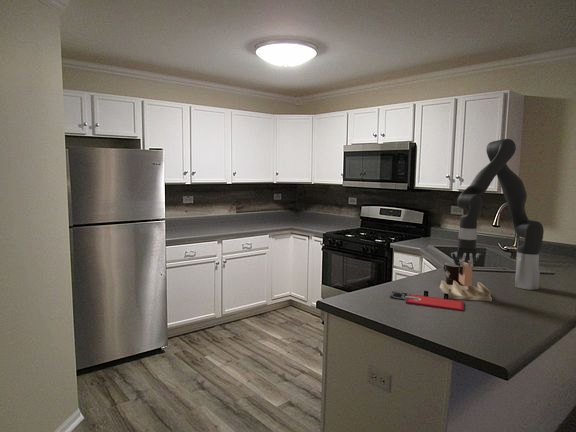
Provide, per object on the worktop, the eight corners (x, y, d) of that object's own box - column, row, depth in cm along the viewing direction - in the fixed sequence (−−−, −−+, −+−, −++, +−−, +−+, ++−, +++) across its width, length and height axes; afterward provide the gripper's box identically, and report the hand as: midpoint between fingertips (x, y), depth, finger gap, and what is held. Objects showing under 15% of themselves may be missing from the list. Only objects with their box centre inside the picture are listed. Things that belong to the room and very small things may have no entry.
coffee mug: (464, 287, 192) (465, 267, 191) (445, 285, 194) (446, 266, 193) (459, 281, 204) (460, 262, 203) (441, 280, 205) (442, 261, 204)
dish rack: (479, 289, 188) (479, 281, 188) (491, 301, 171) (492, 292, 170) (439, 287, 191) (440, 279, 191) (448, 298, 174) (448, 289, 173)
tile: (471, 286, 175) (472, 266, 175) (464, 285, 176) (465, 266, 175) (465, 281, 185) (466, 262, 185) (458, 280, 186) (459, 262, 185)
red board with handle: (393, 292, 183) (387, 302, 169) (393, 286, 183) (388, 295, 169) (463, 301, 171) (463, 313, 157) (463, 295, 171) (464, 306, 157)
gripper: (453, 238, 176) (451, 276, 178) (486, 239, 174) (484, 277, 175) (449, 236, 183) (447, 272, 185) (481, 237, 181) (479, 273, 183)
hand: (465, 274), depth 180 cm, fingers closed on tile, 3 cm apart
